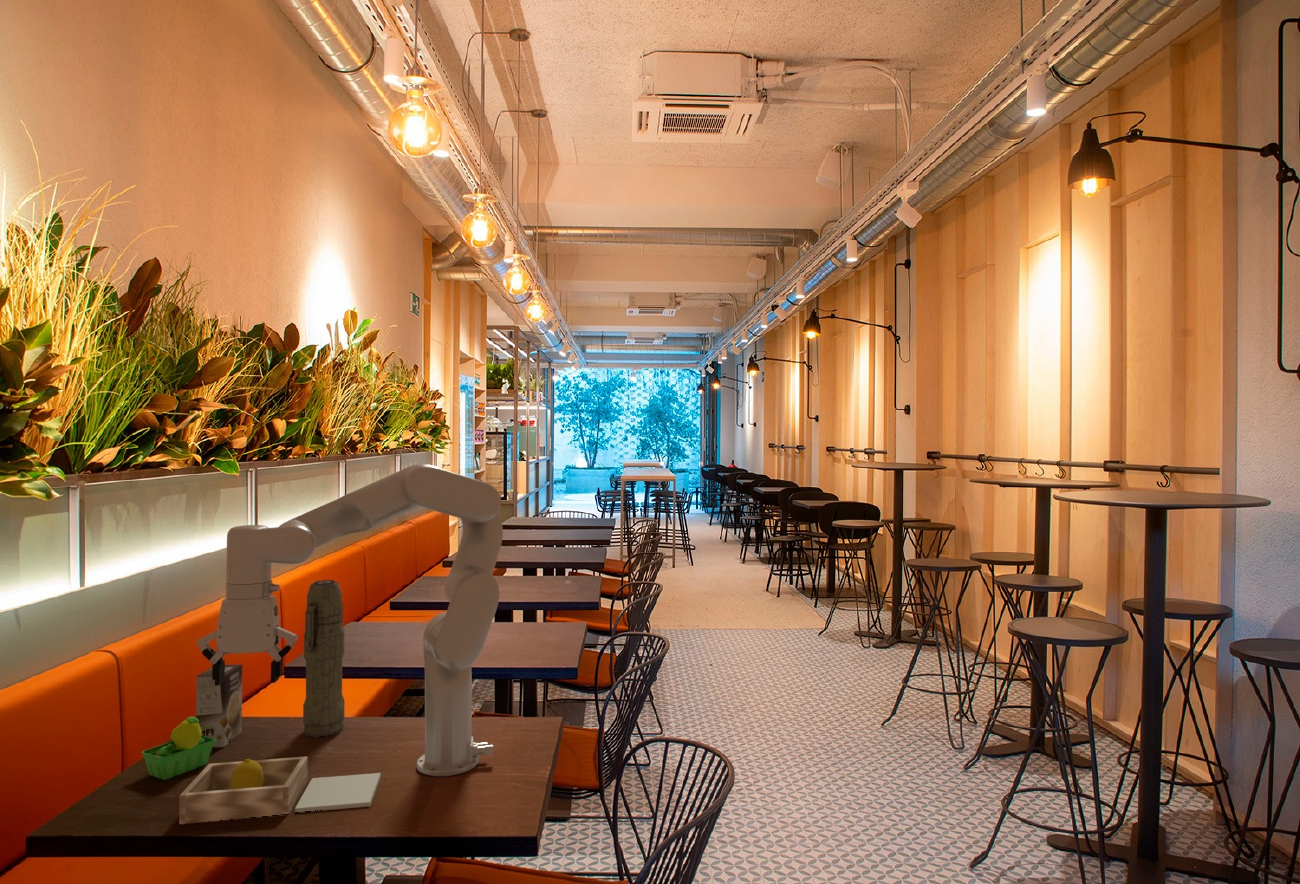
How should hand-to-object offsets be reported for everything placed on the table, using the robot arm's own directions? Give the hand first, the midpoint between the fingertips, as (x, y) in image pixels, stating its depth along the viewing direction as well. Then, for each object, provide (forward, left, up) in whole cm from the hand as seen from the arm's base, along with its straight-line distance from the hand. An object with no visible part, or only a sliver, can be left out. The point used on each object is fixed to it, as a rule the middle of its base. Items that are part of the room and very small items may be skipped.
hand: (247, 682), depth 144 cm
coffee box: (+16, -34, -23) cm, 44 cm away
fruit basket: (+18, -18, -23) cm, 34 cm away
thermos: (-6, -36, -23) cm, 43 cm away
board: (-17, 0, -22) cm, 28 cm away
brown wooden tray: (0, 0, -22) cm, 22 cm away
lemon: (0, 0, -23) cm, 23 cm away
